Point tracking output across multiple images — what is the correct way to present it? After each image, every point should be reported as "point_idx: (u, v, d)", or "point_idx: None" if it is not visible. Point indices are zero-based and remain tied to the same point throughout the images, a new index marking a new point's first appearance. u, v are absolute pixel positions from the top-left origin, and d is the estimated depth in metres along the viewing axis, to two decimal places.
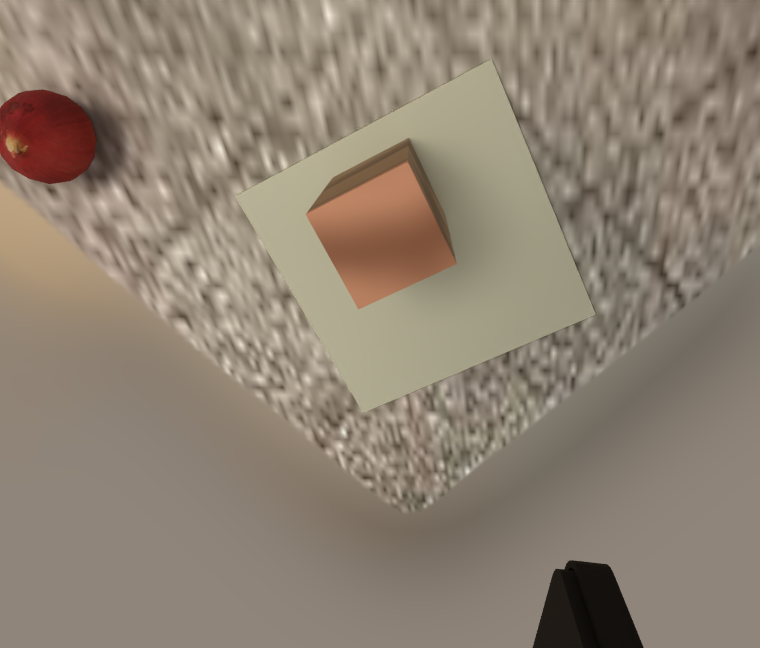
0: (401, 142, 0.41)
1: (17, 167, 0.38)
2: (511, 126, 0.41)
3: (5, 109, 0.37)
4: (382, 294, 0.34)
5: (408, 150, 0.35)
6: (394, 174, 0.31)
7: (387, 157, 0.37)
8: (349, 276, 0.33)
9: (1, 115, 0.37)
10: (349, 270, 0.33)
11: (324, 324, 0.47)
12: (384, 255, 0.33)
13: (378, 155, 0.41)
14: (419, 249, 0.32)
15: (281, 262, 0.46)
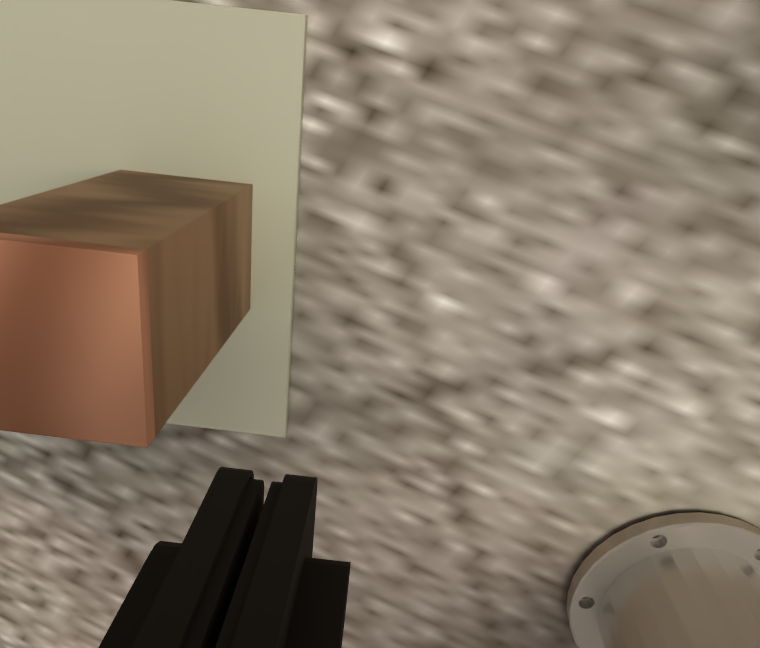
0: (246, 303, 0.29)
1: None
2: (200, 419, 0.32)
3: None
4: None
5: (201, 373, 0.23)
6: (137, 421, 0.18)
7: (216, 322, 0.24)
8: None
9: None
10: (0, 261, 0.16)
11: (25, 10, 0.25)
12: (6, 333, 0.17)
13: (243, 272, 0.27)
14: None
15: (164, 14, 0.25)
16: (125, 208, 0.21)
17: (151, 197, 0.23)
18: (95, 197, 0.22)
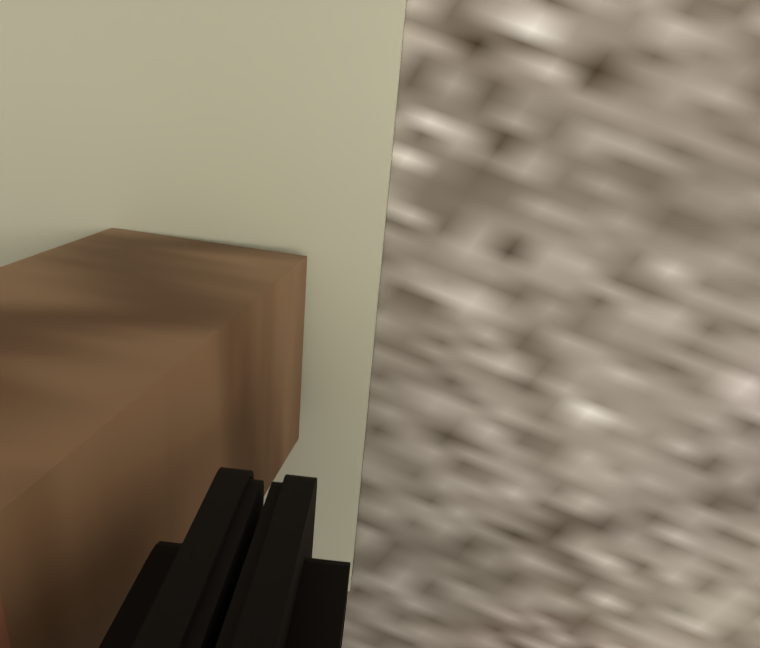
0: (292, 434, 0.18)
1: None
2: None
3: None
4: None
5: None
6: None
7: None
8: None
9: None
10: None
11: None
12: None
13: (287, 394, 0.17)
14: None
15: None
16: (50, 336, 0.11)
17: (121, 298, 0.13)
18: (18, 302, 0.12)
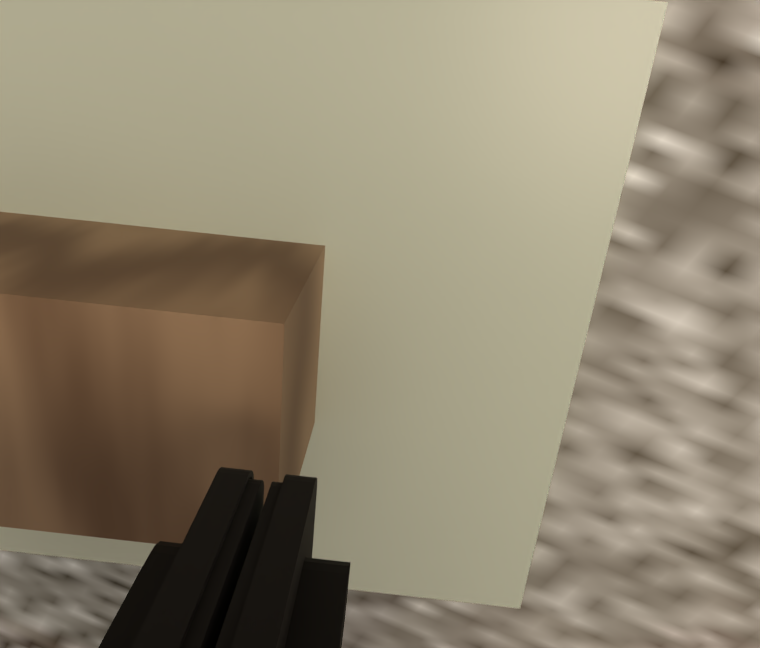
0: None
1: None
2: (400, 585, 0.22)
3: None
4: None
5: None
6: None
7: (46, 483, 0.14)
8: None
9: None
10: None
11: None
12: None
13: None
14: None
15: (430, 2, 0.15)
16: (11, 252, 0.14)
17: (100, 261, 0.14)
18: (91, 240, 0.16)
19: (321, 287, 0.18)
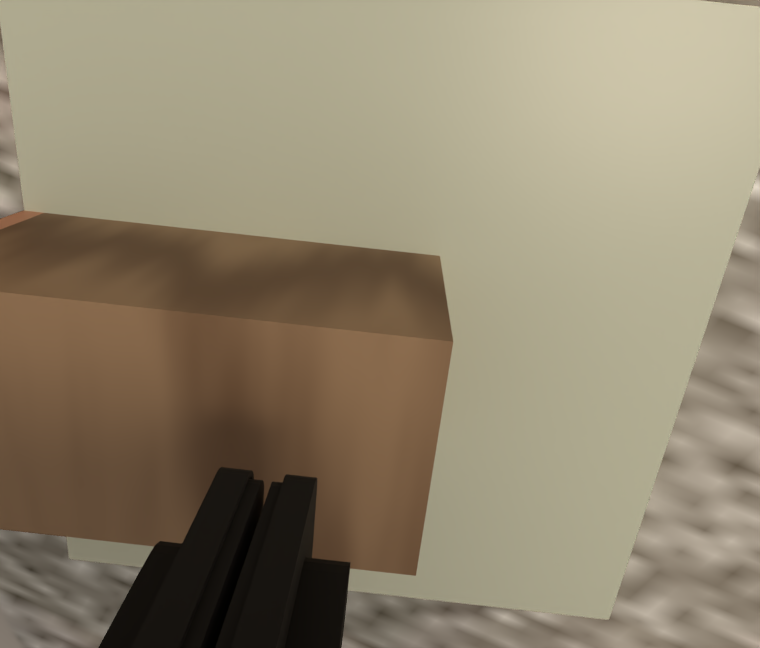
0: (389, 554, 0.14)
1: None
2: (489, 596, 0.22)
3: None
4: None
5: (119, 541, 0.14)
6: None
7: (187, 501, 0.14)
8: None
9: None
10: None
11: (329, 5, 0.15)
12: None
13: (369, 490, 0.13)
14: None
15: (567, 10, 0.15)
16: (144, 264, 0.14)
17: (236, 274, 0.14)
18: (214, 251, 0.16)
19: None
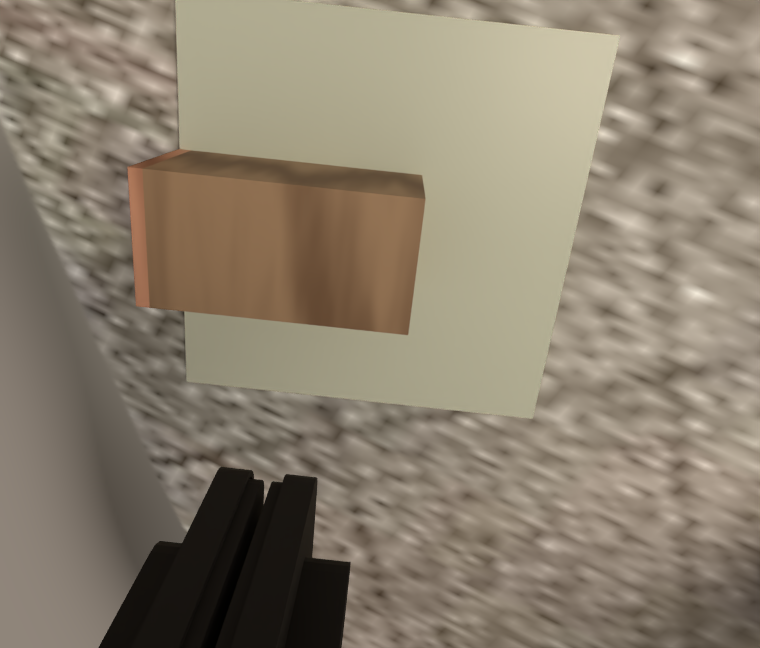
0: (394, 322, 0.26)
1: None
2: (456, 403, 0.35)
3: None
4: None
5: None
6: None
7: (288, 292, 0.26)
8: None
9: None
10: None
11: (360, 31, 0.27)
12: None
13: (384, 283, 0.26)
14: None
15: (489, 34, 0.27)
16: (263, 170, 0.27)
17: (312, 175, 0.27)
18: (295, 167, 0.28)
19: None
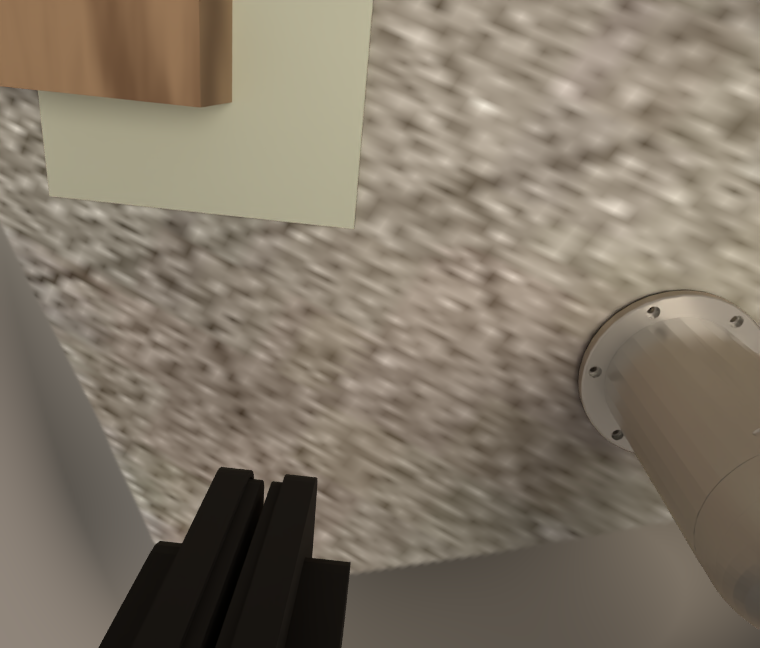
0: (187, 95, 0.31)
1: None
2: (285, 214, 0.39)
3: None
4: None
5: None
6: None
7: (96, 66, 0.31)
8: None
9: None
10: None
11: None
12: None
13: (174, 57, 0.30)
14: None
15: None
16: None
17: None
18: None
19: (231, 13, 0.35)
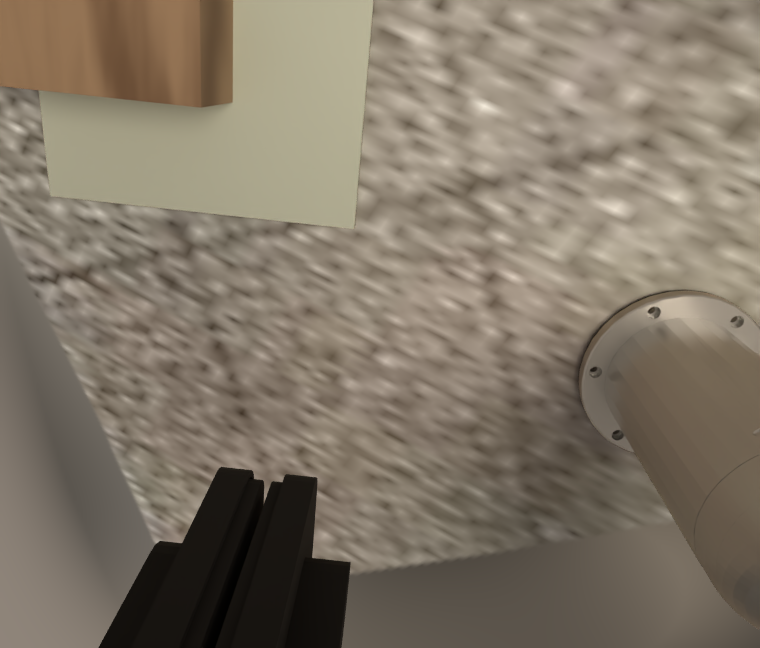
0: (188, 95, 0.31)
1: None
2: (286, 214, 0.39)
3: None
4: None
5: None
6: None
7: (97, 67, 0.31)
8: None
9: None
10: None
11: None
12: None
13: (175, 57, 0.31)
14: None
15: None
16: None
17: None
18: None
19: (231, 14, 0.35)
